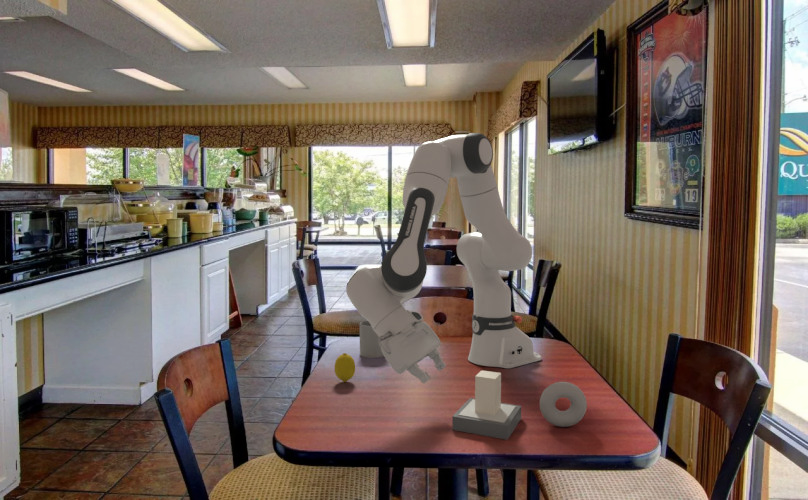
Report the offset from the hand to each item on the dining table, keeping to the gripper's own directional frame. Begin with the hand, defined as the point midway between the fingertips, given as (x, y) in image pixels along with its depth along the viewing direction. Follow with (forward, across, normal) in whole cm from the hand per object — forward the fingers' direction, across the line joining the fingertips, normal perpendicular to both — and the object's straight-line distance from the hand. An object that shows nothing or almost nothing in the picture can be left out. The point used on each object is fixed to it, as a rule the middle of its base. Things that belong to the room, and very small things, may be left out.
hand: (435, 374), depth 127 cm
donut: (+26, +6, -12) cm, 30 cm away
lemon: (-15, +11, +29) cm, 34 cm away
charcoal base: (+15, 0, -2) cm, 16 cm away
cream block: (+13, 0, -4) cm, 14 cm away
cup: (-19, +38, +33) cm, 54 cm away
